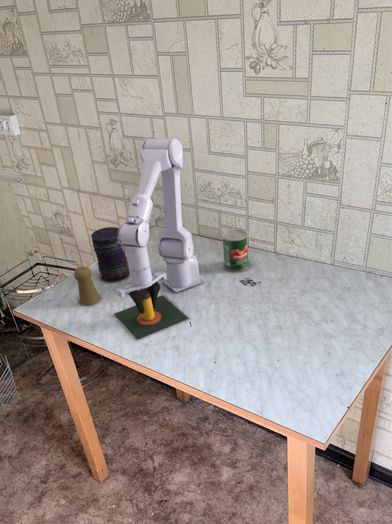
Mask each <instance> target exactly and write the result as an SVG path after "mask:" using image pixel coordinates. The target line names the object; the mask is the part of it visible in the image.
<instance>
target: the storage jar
mask: <svg viewBox="0 0 392 524" xmlns="http://www.w3.org/2000/svg"><path fill="white" fill-rule="evenodd" d="M118 230H119V227H115V226H108V227H102V228H99V229H97V230H94V232H92V233H91V235H90V237H91V242H92V246H93V251H94V253H95V255H96V259H97V266H98V271H99V274H100V278H101V280H102V281H103V282H106V283H117V282H122V281H123V280H125V279H127V278H128V277H130V272H129V267H128V262H127V257H126V252H125V251H123V248H122V245H121V244H120V243H119V242H118Z"/></svg>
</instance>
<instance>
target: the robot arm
mask: <svg viewBox="0 0 392 524" xmlns="http://www.w3.org/2000/svg"><path fill="white" fill-rule="evenodd" d="M183 154H184V153H183V145H182V144H181V142H180V141H179V140H178V139H177V138H148V137H147V138H146V137H145V138H144V139H143V140H142V141H141V144H140V151H139V156H140V160H141V162H142V167H141V173H140V179H139V183H138V189H137V194H135V195H133V196H132V197H131V199H130V203H129V207H128V210H127V214H126V217H125V221H124V223H123V224H121V225H119V227H118V228H119V230H118V242H119V243H120V244H121V245H122V248H123V251H125V255H126V257H127V262H128V267H129V272H130V274H129V277H130V281H128V282H126V283H125V284H124V285H122V286H120V287H119V288H116V290H117V294H118V296H119V297H120V298H122V299H124V298H125V297H126V296H127V295H128V296H129V297H130V298H131V300H132V301H133V303H134V304H135V306H137V308H138V311H139V312H140V313H142V314H143V313H144V308H143V300H142V299H143V295H142V294H140V292H139V290H140V289H144V288H148V289H150V292H151V299H152V304H153V308H156V301H157V297H159V293H160V291H161V284H160V283H159V282H160V281H162V280H163V283H164V285H166V286H167V287H168V288H169V289H170V290H172V291H173V292H174V293H178V292H181V291H183V290H186V289H188V288H191V287H194V286H197V285H199V284H201V283H202V281H201V278H200V269H199V263H198V259H197V257H196V256H195V255H194V248H195V247H194V242H193V237H192V233H191V232H190V231H189V230H187V228H185V227H184V226H183V216H182V215H183V213H182V195H181V194H182V191H181V174H180V172H181V171H180V170H182V169H183V168H184V155H183ZM160 174H161V184H162V186H161V187H162V199H163V201H162V202H163V216H164V228H163V229H162V230H161V231H160V232H159V233H158V236H157V237H158V238H157V245H156V247H157V249H156V250H157V253H158V255H159V257H161V258H162V261H164V262H165V267H166V271H164V270H159V271H157V272H152V270H151V269H152V268H151V264H150V258H149V252H148V245H147V244H148V242H149V239H150V224H149V221H150V218H151V215H152V210H153V207H154V203H153V201H152V199H151V198H152V195H153V193H154V190H155V187H156V184H157V181H158V179H159V176H160Z"/></svg>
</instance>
